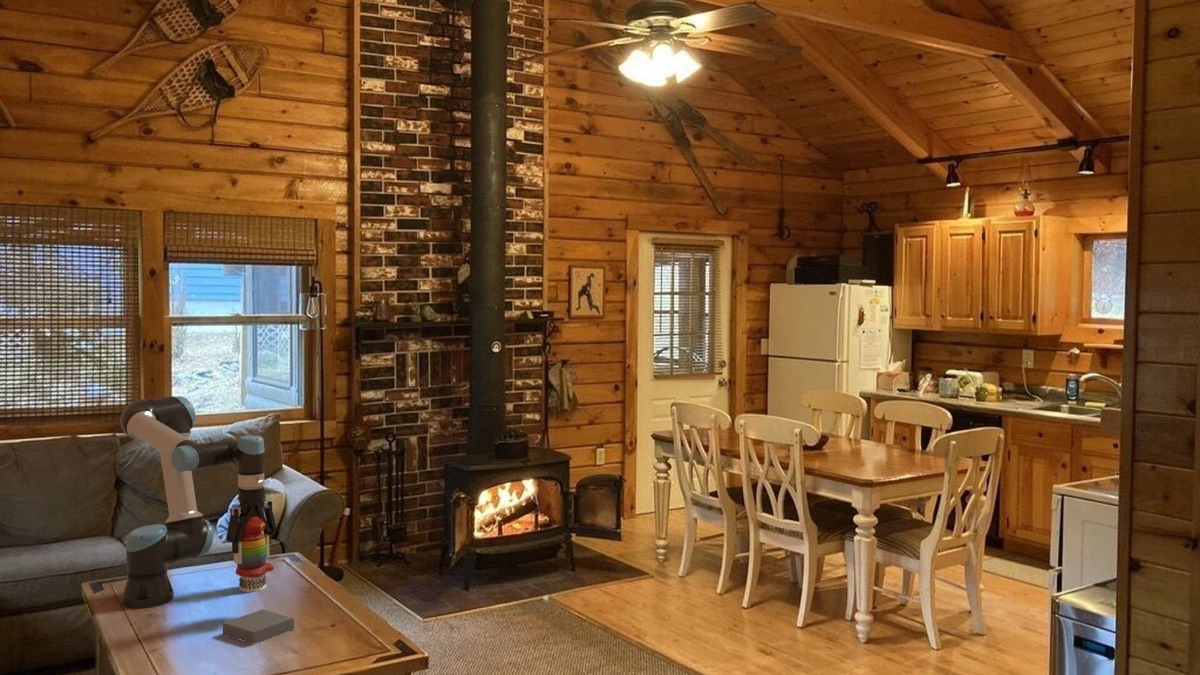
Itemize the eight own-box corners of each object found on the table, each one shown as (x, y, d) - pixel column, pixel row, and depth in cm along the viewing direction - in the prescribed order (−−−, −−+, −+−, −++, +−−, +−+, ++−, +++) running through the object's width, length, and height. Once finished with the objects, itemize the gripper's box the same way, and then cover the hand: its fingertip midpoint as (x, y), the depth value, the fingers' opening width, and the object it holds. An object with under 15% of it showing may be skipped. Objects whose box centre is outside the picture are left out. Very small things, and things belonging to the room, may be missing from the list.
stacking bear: (257, 578, 294) (257, 520, 293) (227, 576, 296) (226, 518, 295) (276, 568, 305) (276, 512, 304) (247, 566, 307) (246, 509, 306)
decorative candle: (273, 586, 329) (272, 513, 327) (250, 594, 321) (249, 518, 319) (255, 582, 334) (254, 509, 332) (232, 589, 326) (231, 514, 324)
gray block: (222, 636, 284) (222, 622, 284) (263, 622, 296) (262, 609, 295) (254, 646, 276) (254, 632, 276) (294, 631, 288) (294, 618, 288)
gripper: (228, 495, 288) (228, 570, 289) (288, 482, 306) (289, 553, 308) (212, 491, 292) (212, 565, 293) (272, 479, 310) (273, 549, 312)
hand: (251, 559), depth 300 cm, fingers closed on stacking bear, 9 cm apart
